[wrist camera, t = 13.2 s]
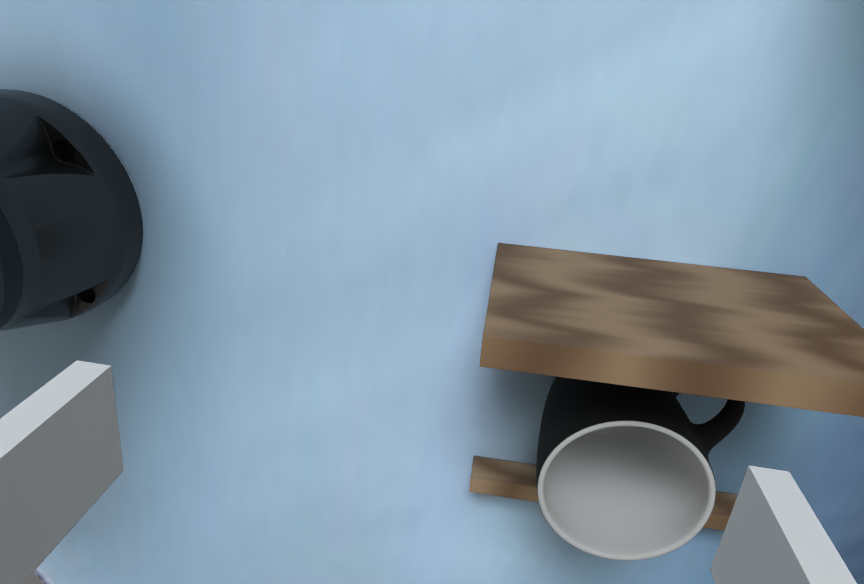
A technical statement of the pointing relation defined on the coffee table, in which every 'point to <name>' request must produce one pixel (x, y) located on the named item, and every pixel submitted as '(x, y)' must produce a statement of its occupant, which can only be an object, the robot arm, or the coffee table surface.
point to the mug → (625, 468)
